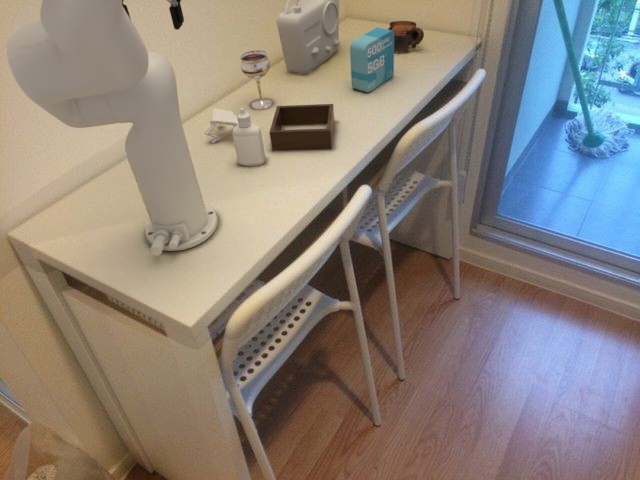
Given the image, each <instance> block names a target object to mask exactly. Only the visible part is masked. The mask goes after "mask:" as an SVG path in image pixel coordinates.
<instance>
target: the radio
mask: <svg viewBox="0 0 640 480" xmlns="http://www.w3.org/2000/svg"><path fill="white" fill-rule="evenodd" d="M291 2H292V1H291V0H286V2H285V6H284V10H283V12H281V13H279V14H278V15H277V17H276V26H277V31H278V37H279V41H280V46H281V50H282V55H283V60H284V65H285V68H286V71H288V72H290V73H295V74H302V75H308V74H310V73H311V72H312V71H313V70H315V69H316V68H317V67H319V66H320V65H321V64H323V63H324V62H325V61H327V60H328V59H329V58H330V57H331V56H333V55H334V54H335V53H337V51H338V50H339V46H340V45H341V42H340V41H339V38H340V37H339V35H340V25H339V24H340V0H300V1H299V0H295V4H294V5H292V6H290V3H291Z"/></svg>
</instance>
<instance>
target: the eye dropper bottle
mask: <svg viewBox="0 0 640 480" xmlns="http://www.w3.org/2000/svg"><path fill="white" fill-rule="evenodd" d="M239 109H240V110H239V113H238V114H237V115H236V117H237V118H238V123H239V125H237V126H235V127H234V126H233V127H234V129H233V128H232V131H231V132H232V133H231V135H232V141H233V144H234V150H235V155H236V159H237V164H239V165H241V166H245V167H255V166H261V165H263V164H264V163H265V162H266V152H265V147H264V146H265V145H264V141H263V135H262V129H261V128H260V127H259V126H258V125H256V124H254V123H252V120H251V115H250V113H249V112H246V110H245V108H244V107H240V108H239Z"/></svg>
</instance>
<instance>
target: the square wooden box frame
mask: <svg viewBox="0 0 640 480" xmlns="http://www.w3.org/2000/svg"><path fill="white" fill-rule="evenodd" d="M334 109H335V108H334V103H321V104H316V103H315V104H296V105H295V104H294V105H292V104H291V105H277V106H276V108H275V112H274V115H273V118H272V122H271V125H270V129H269V137H270V144H271V150H272V152H280V151H281V152H283V151H313V150H314V151H315V150H332V149H333V140H334V133H335V132H334V131H335V110H334ZM304 125H305V126H306V125H309V126H310V125H326V128H303V129H299V128H298V129H283V126H304Z"/></svg>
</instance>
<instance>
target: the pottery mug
mask: <svg viewBox="0 0 640 480" xmlns="http://www.w3.org/2000/svg"><path fill="white" fill-rule="evenodd" d="M387 30H392V31H393V32H394V52H397V53H409V51H410V48H412V49H416V47H417V45H419V44H421V43H422V41H423V39H424V36H425V32H424V30H423V29H422V28H420V27H417V22H415V21H412V20H397V21H396V20H395V21H391V22H389V27H388V28H387Z"/></svg>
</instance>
